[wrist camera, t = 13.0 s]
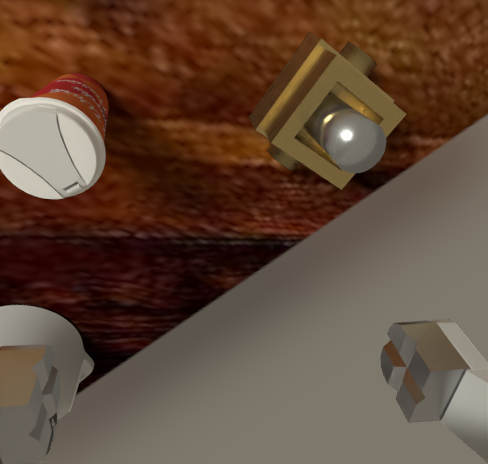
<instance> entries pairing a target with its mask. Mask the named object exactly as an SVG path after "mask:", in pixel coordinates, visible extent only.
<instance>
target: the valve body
mask: <svg viewBox="0 0 488 464" xmlns="http://www.w3.org/2000/svg"><path fill="white" fill-rule="evenodd" d="M376 65H377V64H376V62H375V61H374V60H373V59H372V58H370V57H369V56H368V55H367V54H366V53H365V52H363V51H362V50H361V49H359V48H358V47H357V46H355V45H354V44H352V43H351V42H347V44H346V45H345V46H344V48H343V49H342V50H341V52H340V53H338V52H337V51H335V50H334V49H333V48H332V47H331V46H330V45H328V44H327V43H326V42H325V41H324V40H323V39H321V38H319V37H317V36H315V35H313V34H311V33H308V34H307V36H306V37H305V38H304V40H303V41H302V43H301V44H300V45H299V47H298V48H297V50H296V51H295V53H294V54H293V55H292V57H291V58H290V60H289V61H288V62H287V64H286V65H285V67H284V68H283V70H282V71H281V72H280V74H279V75H278V77H277V78H276V79H275V81H274V82H273V84H272V85H271V87H270V88H269V89H268V91H267V92H266V94H265V95H264V96H263V98H262V99H261V101H260V102H259V104H258V105H257V106H256V108H255V109H254V111H253V112H252V113H251V115H250V116H249V118H250V120H251V122H252V124H253V126H254V128H255V130H257V131H258V132H260V133H261V134H263V135H264V136H266V137H267V138H269V140H270V142H271V143H272V144H271V145H270V146H269V148H268V149H267V151H268V152H269V154H270V155H271V156H272V157H273V158H274V159H276V160H277V161H278V162H279V163H281V164H282V165H284V166H285V167H287V168H288V169H291V170H294V169H295V168H296V166H297V165H298V164H299V163H300V162H301V163H302V164H304V165H305V166H307V167H308V168H310V169H311V170H313V171H314V172H316V173H317V174H319V175H320V176H322V177H323V178H325V179H326V180H328V181H329V182H331V183H332V184H334V185H335V186H337V187H338V188H340V189H341V190H342V189H343V187H344V186H345V185H346V184H347V183H348V182H349V180H350V179H351V178H352V177H353V176H354V175H355V173H349V172H346V171H344V170H343V169H341V168H340V167H339V166H338V165H337V164H336V163H335V161H334V160H333V159H332V158H331V157H330V156H329V155H328V154H327V153H326V152H325V151H324V150H323V149H322V147H321V146H320V145H319V144H318V143H317V142H316V141H315V140H314V139H313V138H312V137H311V136H310V134H309V133H308V132H307V131H306V129H305V127H304V124H305V123H306V122H307V120H308V119H309V118H310V116H311V115H312V114H313V112H314V111H315V110H316V109H317V107H318V106H319V105H320V103H321V102H322V101H323V99H324V98H325V97H326V95H327V94H330V95H334V96H337V97H338V98H340V99H341V100H343V101H344V102H346V103H347V104H348V105H350V106H351V107H353V108H354V109H356V110H357V111H359V112H360V113H362V114H363V115H364V116H366V117H367V118H369V119H370V120H372V121H373V122H375V123H376V124H377V125H379V126H380V127H381V128H382V129H383V131H384V133H385V136H386V137H387V136H388V135H389V134H390V133H391V132H392V130H393V129H394V128H395V127H396V126H397V125H398V123H399V122H400V121H401V120H402V119H403V118H404V116H405V115H406V113H404V112H403V111H402V110H401V109H400V108H399V107H397V106H396V105H395V104H394V103H393V102H394V100H393V99H392V98H391V97H389V96H388V95H387V94H386V93H385V92H384V91H382V90H381V89H380V88H379V87H378V86H377V85H375V84H374V83H373V82H372V81H371V80H370V79H368V78H367V77H368V75H369V74H370V73H371V72H372V70H373V69H374V68H375V67H376Z"/></svg>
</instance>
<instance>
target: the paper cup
mask: <svg viewBox="0 0 488 464" xmlns="http://www.w3.org/2000/svg"><path fill="white" fill-rule="evenodd" d="M108 110H109V105H108V99H107V96H106V93H105V91H104V90H103V88H102V87H101V86H100V85H99V84H98V83H97V82H96V81H95V80H94V79H92V78H90V77H88V76H86V75H83V74H77V73H71V74H66V75H63V76H61V77H59V78H57V79H55V80H54V81H52V82H51V83H49V84H48V85H47V86H45V87H44V88H42V89H41V90H40V91H38V92H37V93H36V94H34V95H33V96H31V97H30V98H20V99H17V100H15V101H13V102H11V103H10V104H8V105H7V106H6V107H4V108H3V109H2V111H1V112H0V169H1V170H2V172H3V173H4V175H5V176H6V177H7V178H8V179H9V180H10V181H11V182H12V183H13V184H14V185H15V186H17V187H18V188H19V189H21V190H23V191H25V192H26V193H29V194H31V195H33V196H37V197H40V198H46V199H62V198H65V197H69V196H73V195H77V194H79V193H81V192H84V191H85V190H87V189H88V188H90V187H91V186H92V185H93V184H94V183H95V182H96V181H97V180H98V178H99V177H100V175H101V173H102V171H103V168H104V165H105V158H106V154H105V146H104V139H105V133H106V126H107V119H108Z"/></svg>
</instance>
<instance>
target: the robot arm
mask: <svg viewBox="0 0 488 464" xmlns="http://www.w3.org/2000/svg"><path fill="white" fill-rule="evenodd" d="M388 336H389V337H390V339H391V341H389V342H388V343H387V344H386V345H385V346H384V347H383V350H382V353H381V368H382V372H383V375H384V377H385V379H386V381H387V383H388V384H389V385H390V386H391V387H393V388H394V389H396V390H397V391H398V392H397V396H396V400H397V402H398V404H399V406H400V408H401V409H402V411H403V413H404V415H405V417H406V419H407V420H408V422H424V421H437V420H441V423H442V424H443V425H445V426H446V427H447V428H448V429H449V430H450V431H452V432H453V433H454V434H455V435H456V436H457V437H458V438H460V439H461V440H462V441H463V442H464V443H466V444H467V445H468V446H469V447H470V448H471V449H473V450H474V451H475V452H476V453H477V454H478V455H479V456H481V457H482V458H483V459H484V460H485V461H486V462H487V463H488V363H487V361H486V360H485V359H484V358H483V356H482V355H481V354H480V353H479V351H478V350H477V349H476V348H475V347H474V345H473V344H472V343H471V342H470V340H469V339H468V338H467V337H466V336H465V334H464V333H463V332H462V330H461V329H460V328H459V327H458V325H457V324H456V323H455V322H453V321H452V320H450V319H443V320H431V321H415V322H401V323H394V324H393V325H392V326H391V327H390V329H389V332H388ZM93 368H94V362H93V360H92V359H91V357H90V356H89V355H88V354H87V353H86V352H85V350H84V347H83V342H82V339H81V336H80V334H79V333H78V331H77V330H76V328H75V327H74V326H73V325H72V324H71V323H70V322H69V321H67V320H66V319H65V318H63V317H61V316H60V315H58V314H56V313H54V312H51V311H49V310H46V309H43V308H39V307H34V306H26V305H9V306H2V307H0V464H42V463H43V460H45V457H46V455H47V454H48V452H49V450H50V446H51V442H52V441H53V439H54V436H55V431H56V423H57V421H58V420H60V419H62V418H63V417H64V416H65V415H66V413H69V412H70V411H71V409H72V406H73V403H74V399H75V396H76V392H77V388H78V385H79V383H80V382H81V381H82V380H83V379H85V378H86V377H87V376H88V375H89V374H90V373H91V372H92V371H93Z"/></svg>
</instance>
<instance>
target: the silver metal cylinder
mask: <svg viewBox="0 0 488 464" xmlns="http://www.w3.org/2000/svg"><path fill="white" fill-rule="evenodd" d="M304 127H305V129H306V131H307V132H308V133H309V134H310V136H311V137H312V138H313V139H314V140H315V141H316V142H317V143H318V144H319V145H320V146H321V147H322V149H323V150H324V151H325V152H326V153H327V154H328V155H329V156H330V157H331V158H332V159H333V160H334V161H335V163H336V164H337V165H338V166H339V167H340V168H341V169H343V170H344V171H346V172H349V173H361V172H364V171H367V170H369V169H370V168H372V167H373V166H375V165H376V164H377V163H378V162H379V160H380V159H381V157H382V156H383V154H384V151H385V148H386V136H385V133H384V131H383V129H382V128H381V127H380V126H379V125H377V124H376V123H375V122H373V121H372V120H370V119H369V118H367V117H366V116H364V115H363V114H362V113H360V112H359V111H357V110H356V109H354V108H353V107H351V106H350V105H348V104H347V103H346V102H344V101H343V100H341V99H340V98H338V97H337V96H334V95H330V94H327V95H326V97H325V98H324V99H323V101H322V102H321V103H320V105H319V106H318V107H317V109H316V110H315V111H314V112H313V114H312V115H311V116H310V118H309V119H308V120H307V122H306V123H305V124H304Z"/></svg>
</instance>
